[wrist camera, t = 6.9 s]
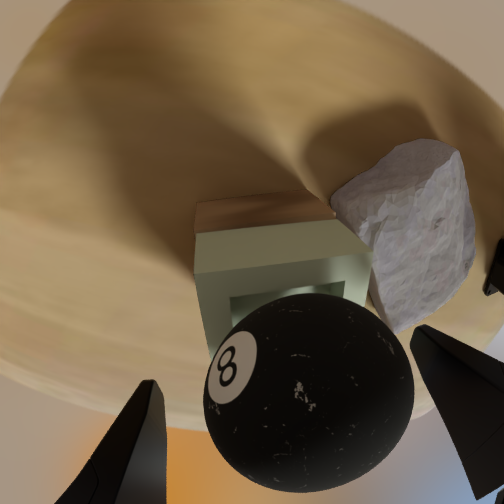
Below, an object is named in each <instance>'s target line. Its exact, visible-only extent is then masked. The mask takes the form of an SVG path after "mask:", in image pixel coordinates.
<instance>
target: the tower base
mask: <svg viewBox="0 0 504 504" xmlns="http://www.w3.org/2000/svg"><path fill="white" fill-rule="evenodd" d="M333 219H336V212H335V211H333V210H332V209H331V208H330V207H328V206H327V205H326V204H325V203H323V202H322V201H321V200H320V199H318V198H317V197H316V196H315V195H313V194H312V193H311V192H309V191H308V190H296V191H286V192H277V193H268V194H259V195H251V196H243V197H235V198H227V199H220V200H212V201H205V202H199V203H197V204H196V213H195V222H194V236H195V242H196V233H205V232H214V231H223V230H232V229H241V228H250V227H260V226H269V225H279V224H290V223H300V222H311V221H322V220H333Z"/></svg>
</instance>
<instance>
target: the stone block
mask: <svg viewBox="0 0 504 504" xmlns="http://www.w3.org/2000/svg"><path fill="white" fill-rule="evenodd" d="M330 203H331V208H332V210H333V211H335V212H336V219H338V220H339V221H340V222H341V223H343V224H344V225H345V226H346V227H347V228H348V229H349V230H351V231H352V232H353V233H354V234H355V235H356V236H357V237H358V238H360V239H361V240H362V241H363V242H364V243H365V244H366V245H367V246H368V247H370V248H371V249H372V250H373V251H374V254H373V260H372V267H371V273H370V279H369V284H368V290H369V293H370V295H371V298H372V301H373V303H374V306H375V308H376V311H377V313H378V315H379V316H380V318H381V320H382V321H383V322H384V323H385V324H386V325H387V326H388V328H389V329H390V330H391V331H392V332H393V334H398V333H399V332H401V331H403V330H405V329H407V328H409V327H411V326H412V325H414V324H416V323H418V322H420V321H421V320H422V319H424V318H425V317H427V316H429V315H430V314H432V313H434V312H435V311H436V310H438V309H439V308H440V307H441V306H443V305H444V304H446V302H447V301H448V300H450V299H451V298H452V297H453V296H454V295H455V293H456V292H457V290H458V289H459V287H460V286H461V284H462V283H463V282H464V281H465V280H466V278H467V276H468V273H469V270H470V268H471V267H472V264H473V261H474V258H475V255H476V247H475V244H474V238H475V220H474V214H473V210H472V207H471V204H470V203H469V189H468V186H467V181H466V179H465V170H464V166H463V162H462V159H461V156H460V152H459V151H458V150H457V149H455V148H454V147H452V146H449V145H448V144H446V143H444V142H441V141H437V140H433V139H423V138H421V139H416V140H414V141H411V142H408V143H402V144H401V145H398V146H395V147H394V149H393V150H391V151H390V152H389V153H388V154H387V155H386V156H385V157H383V158H381V159H380V160H379V162H378V163H377V164H376V165H375V166H374V167H372V168H370V169H369V170H368V171H365V172H362V173H361V174H359V175H357V176H355V177H354V178H353V179H352V180H350V181H349V182H348V183H346V184H345V185H344V186H343V187H342V188H340V189H338V190H337V191H336V192H335V193H334V194H333V195H332V196H331V200H330Z"/></svg>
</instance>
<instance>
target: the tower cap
mask: <svg viewBox="0 0 504 504" xmlns="http://www.w3.org/2000/svg"><path fill="white" fill-rule="evenodd" d="M373 254H374V251H373V250H372V249H371V248H370V247H368V246H367V245H366V244H365V243H364V242H363V241H362V240H361V239H360V238H358V237H357V236H356V235H355V234H354V233H353V232H352V231H351V230H349V229H348V228H347V227H346V226H345V225H344V224H343V223H341V222H340V221H339V220H338V219H333V220H322V221H311V222H300V223H290V224H279V225H269V226H260V227H250V228H241V229H232V230H223V231H214V232H205V233H196V244H195V259H194V279H195V285H196V290H197V295H198V301H199V306H200V311H201V316H202V321H203V326H204V330H205V335H206V340H207V344H208V349H209V354H210V358H211V362H212V359H213V357H214V355H215V353H216V351H217V349H218V348H219V346H220V344H221V343H222V341H223V340H224V338H225V337H226V336H227V334H228V333H229V332H230V331H231V330H232V328H233V327H234V326H235V325H236V324H237V323H238V322H240V321H241V320H242V319H243V318H244V317H246V316H247V315H248V314H250V313H251V312H253V311H254V310H256V309H257V308H259V307H261V306H263V305H265V304H267V303H269V302H271V301H274V300H276V299H279V298H282V297H285V296H289V295H294V294H302V293H322V294H329V295H334V296H339V297H342V298H345V299H348V300H350V301H353V302H355V303H357V304H359V305H361V306H362V307H364V306H365V301H366V295H367V290H368V284H369V279H370V273H371V267H372V260H373Z"/></svg>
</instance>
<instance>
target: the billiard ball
mask: <svg viewBox="0 0 504 504" xmlns="http://www.w3.org/2000/svg"><path fill="white" fill-rule="evenodd" d="M413 404H414V379H413V374H412V370H411V366H410V363H409V360H408V357H407V355H406V353H405V351H404V349H403V347H402V345H401V343H400V342H399V340H398V339H397V337H396V336H395V335H394V334H393V332H392V331H391V330H390V329H389V328H388V326H387V325H386V324H385V323H384V322H383V321H381V320H380V319H379V318H378V317H377V316H376V315H374V314H373V313H372V312H370V311H369V310H367V309H366V308H364V307H362V306H361V305H359V304H357V303H355V302H353V301H350V300H348V299H345V298H342V297H339V296H334V295H329V294H322V293H302V294H294V295H289V296H285V297H282V298H279V299H276V300H274V301H271V302H269V303H267V304H265V305H263V306H261V307H259V308H257V309H256V310H254V311H253V312H251V313H250V314H248V315H247V316H246V317H244V318H243V319H242V320H241V321H240V322H238V323H237V324H236V325H235V326H234V327H233V328H232V330H231V331H230V332H229V333H228V334H227V336H226V337H225V338H224V340H223V341H222V343H221V344H220V346H219V348H218V349H217V351H216V353H215V355H214V357H213V359H212V362H211V364H210V367H209V369H208V373H207V377H206V381H205V387H204V395H203V406H204V415H205V420H206V425H207V428H208V430H209V433H210V436H211V438H212V440H213V442H214V444H215V446H216V448H217V449H218V451H219V452H220V453H221V455H222V456H223V457H224V459H225V460H226V461H227V462H228V463H229V464H230V465H231V466H232V467H233V468H234V469H235V470H236V471H238V472H239V473H240V474H241V475H243V476H244V477H246V478H248V479H249V480H251V481H253V482H255V483H257V484H259V485H262V486H264V487H267V488H270V489H274V490H279V491H285V492H295V493H307V492H316V491H322V490H327V489H331V488H335V487H338V486H341V485H344V484H346V483H348V482H350V481H352V480H355V479H357V478H359V477H361V476H362V475H364V474H365V473H367V472H369V471H370V470H371V469H373V468H374V467H375V466H376V465H378V464H379V463H380V462H381V461H382V460H383V459H385V458H386V457H387V456H388V454H389V453H390V452H391V451H392V450H393V449H394V447H395V446H396V444H397V443H398V442H399V440H400V439H401V437H402V435H403V434H404V432H405V430H406V428H407V425H408V423H409V420H410V417H411V414H412V410H413Z"/></svg>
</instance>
